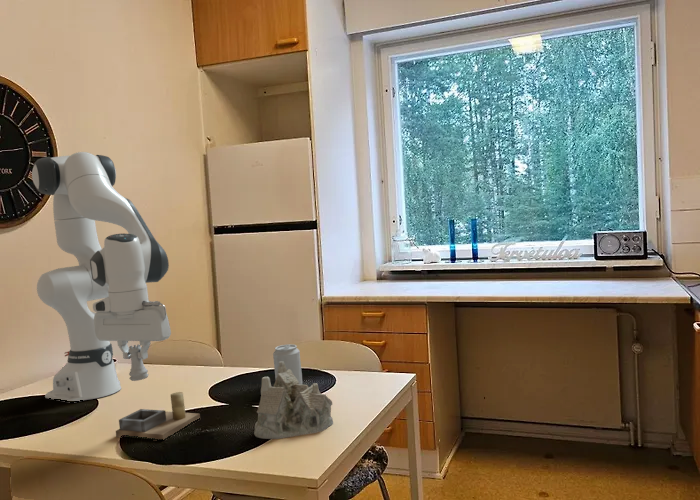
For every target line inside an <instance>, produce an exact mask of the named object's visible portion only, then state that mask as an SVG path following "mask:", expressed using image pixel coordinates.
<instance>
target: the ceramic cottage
mask: <svg viewBox="0 0 700 500" xmlns="http://www.w3.org/2000/svg"><path fill="white" fill-rule="evenodd" d="M278 373H279V374H277V378H276V379H275V381H274V384H273V386H272V384H271V383H272V382H271V378H270V377H269V376H264V377H261V388H260V395H261V396H260V400H259V404H258V406H257V410H256V413H257V414H258V415H257V421H256V422H255V425H254V431H253V435H254V436H255V437H256V438H259V439H264V440H265V439H266V440H267V439H268V440H271V439H272V440H280V439H286V438H293V437H298V436H304V435H309V434H316V433H317V434H318V433H320V432H323V431H325V430H327V429H328V428H329V427H330V426H332V425H334V419H333V416H331V413H332V412H331V411H332V406H333V400H332V399H330V398H329V396H327V395H326V394H323V393H321V392H320V390H319V385H318V383H316V382H315V383H312V384H311V385H310V386H309V384H302V385H299V381H298V380H297V378H296V377H295V376H294V374H293V373H292V371H291V370H290V369H289V370H287V369H286V366H285V364H284V361H282V362H279V367H278Z"/></svg>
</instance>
